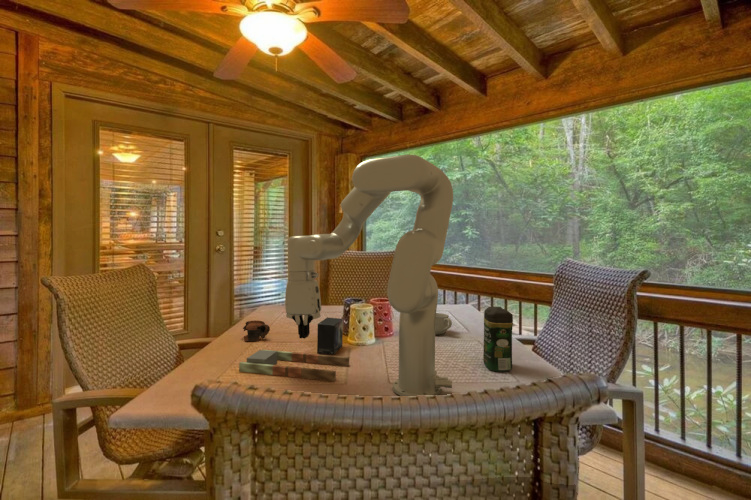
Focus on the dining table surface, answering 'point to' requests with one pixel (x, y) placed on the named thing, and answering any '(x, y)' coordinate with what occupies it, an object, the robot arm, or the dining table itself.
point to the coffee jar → (498, 339)
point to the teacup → (442, 323)
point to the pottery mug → (255, 330)
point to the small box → (329, 336)
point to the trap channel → (297, 371)
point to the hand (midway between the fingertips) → (304, 337)
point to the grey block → (263, 357)
